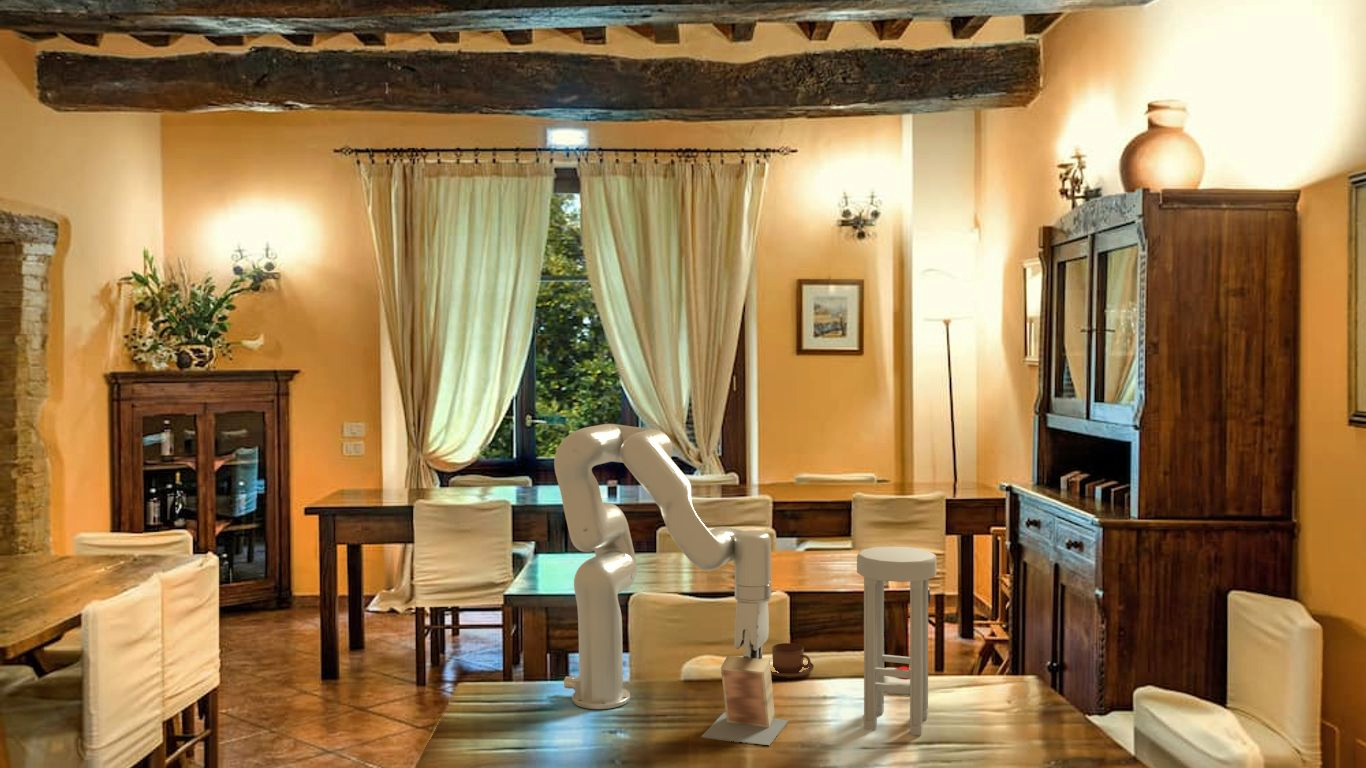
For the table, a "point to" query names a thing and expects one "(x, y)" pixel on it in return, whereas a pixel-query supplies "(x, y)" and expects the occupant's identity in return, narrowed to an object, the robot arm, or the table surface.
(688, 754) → the table surface
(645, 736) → the table surface
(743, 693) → the slab
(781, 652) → the cup and saucer
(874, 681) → the stool
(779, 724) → the mat
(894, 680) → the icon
